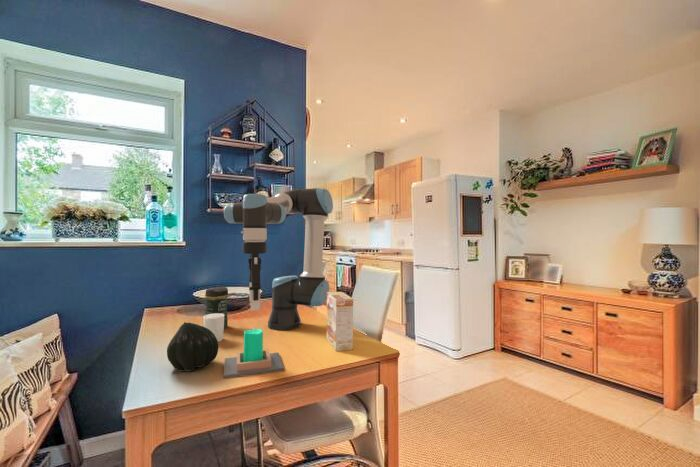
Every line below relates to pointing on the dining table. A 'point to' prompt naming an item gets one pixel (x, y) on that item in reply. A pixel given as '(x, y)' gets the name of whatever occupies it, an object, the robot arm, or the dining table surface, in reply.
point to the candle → (253, 345)
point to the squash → (192, 347)
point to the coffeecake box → (340, 321)
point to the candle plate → (252, 365)
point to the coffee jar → (217, 302)
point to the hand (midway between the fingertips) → (254, 305)
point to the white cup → (215, 324)
